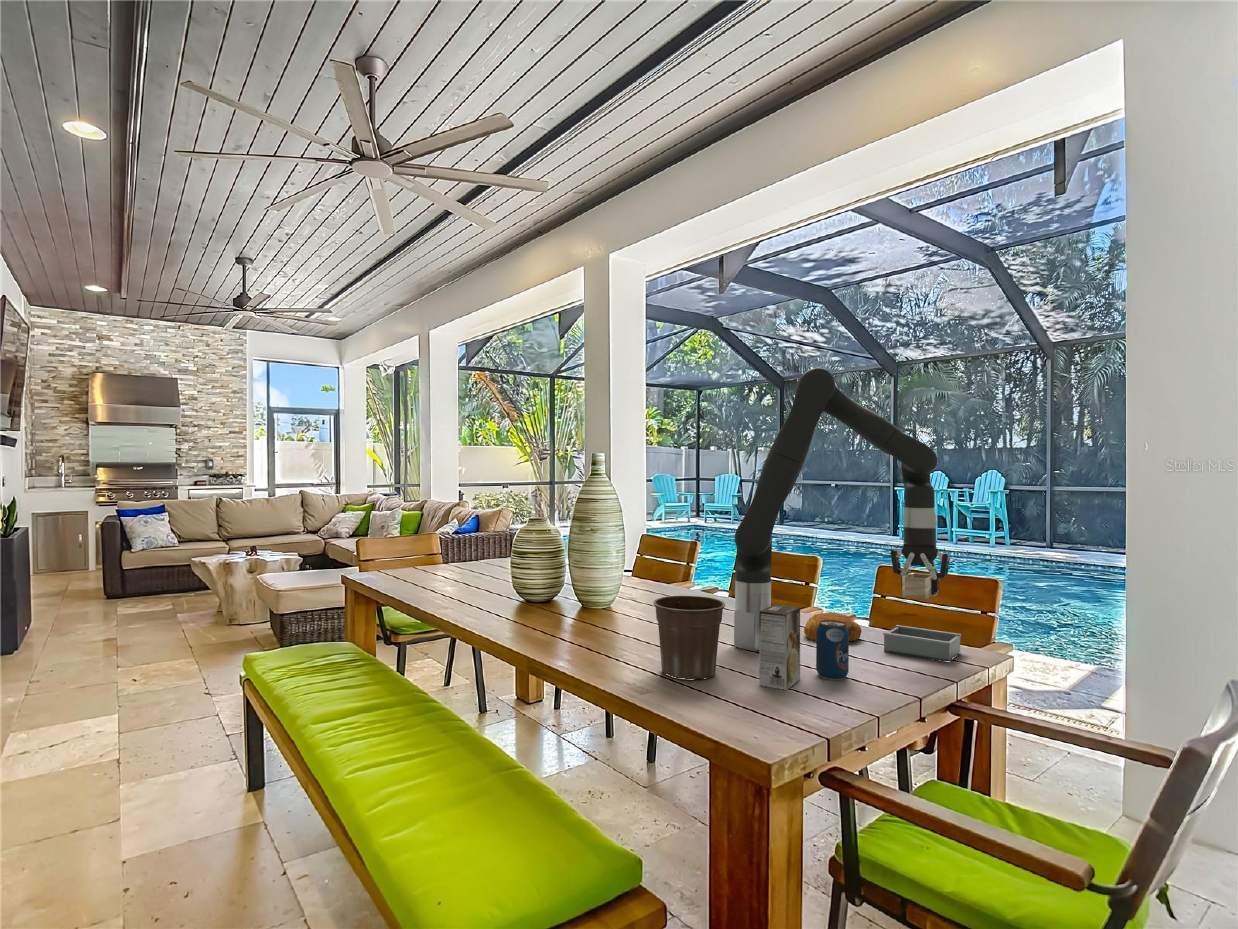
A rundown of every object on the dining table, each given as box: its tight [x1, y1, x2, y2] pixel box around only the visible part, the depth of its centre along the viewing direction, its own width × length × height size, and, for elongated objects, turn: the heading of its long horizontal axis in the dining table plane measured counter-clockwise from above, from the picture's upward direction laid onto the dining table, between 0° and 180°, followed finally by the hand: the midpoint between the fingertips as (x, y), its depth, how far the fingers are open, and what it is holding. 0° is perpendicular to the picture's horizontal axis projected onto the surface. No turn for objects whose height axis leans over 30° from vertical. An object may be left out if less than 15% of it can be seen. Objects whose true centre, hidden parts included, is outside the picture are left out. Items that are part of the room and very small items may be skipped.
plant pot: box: [653, 595, 726, 680], centre depth 153 cm, size 16×16×16 cm
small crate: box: [901, 572, 938, 600], centre depth 169 cm, size 8×6×5 cm
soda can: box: [815, 620, 850, 681], centre depth 151 cm, size 7×7×12 cm
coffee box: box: [758, 604, 801, 691], centre depth 146 cm, size 9×6×16 cm
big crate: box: [882, 624, 962, 662], centre depth 172 cm, size 12×16×5 cm
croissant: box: [803, 612, 862, 642], centre depth 188 cm, size 14×16×8 cm
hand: (920, 592), depth 169 cm, fingers closed on small crate, 6 cm apart
